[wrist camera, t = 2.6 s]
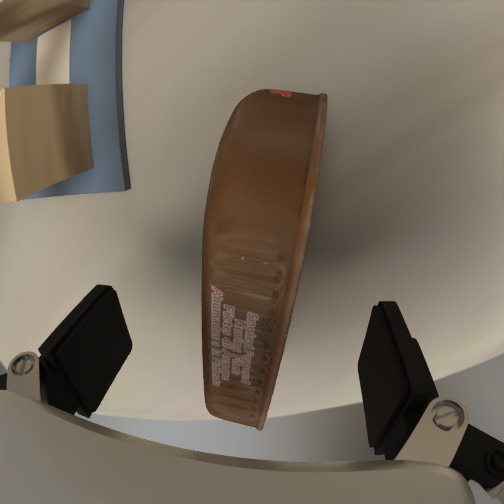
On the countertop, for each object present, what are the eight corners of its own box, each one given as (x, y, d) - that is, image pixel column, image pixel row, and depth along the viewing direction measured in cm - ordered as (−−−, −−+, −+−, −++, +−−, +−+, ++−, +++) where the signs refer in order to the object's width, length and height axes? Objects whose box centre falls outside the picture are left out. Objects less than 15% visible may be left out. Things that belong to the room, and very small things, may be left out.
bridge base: (133, -73, 8) (74, -112, 2) (130, 188, 16) (52, 234, 10) (25, -16, 9) (-36, -23, 3) (26, 197, 17) (-38, 233, 11)
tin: (281, 347, 19) (266, 461, 12) (235, 339, 19) (202, 448, 12) (326, 101, 12) (363, 84, 5) (259, 92, 13) (205, 65, 5)
